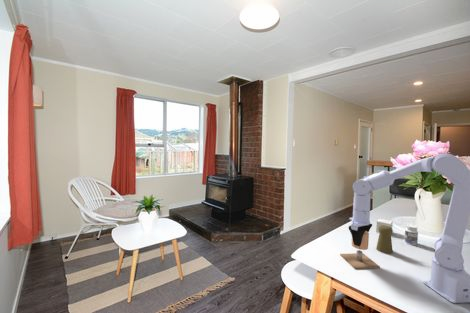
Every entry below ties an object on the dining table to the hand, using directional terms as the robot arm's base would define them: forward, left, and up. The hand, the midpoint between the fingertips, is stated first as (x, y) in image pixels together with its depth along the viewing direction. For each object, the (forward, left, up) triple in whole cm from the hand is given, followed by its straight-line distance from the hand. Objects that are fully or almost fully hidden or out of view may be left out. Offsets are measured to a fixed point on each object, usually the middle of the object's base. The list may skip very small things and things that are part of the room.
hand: (359, 242), depth 86 cm
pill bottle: (+14, -35, -8) cm, 39 cm away
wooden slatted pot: (0, 0, -1) cm, 1 cm away
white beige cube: (+27, -32, -8) cm, 43 cm away
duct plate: (0, 0, -8) cm, 8 cm away
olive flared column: (+8, -17, -8) cm, 20 cm away
